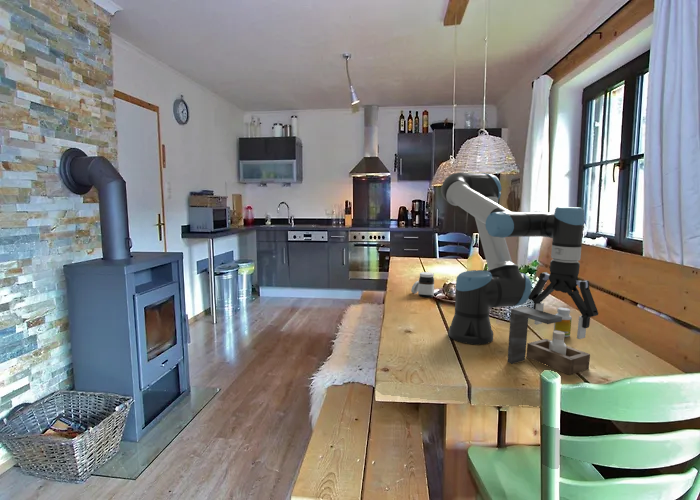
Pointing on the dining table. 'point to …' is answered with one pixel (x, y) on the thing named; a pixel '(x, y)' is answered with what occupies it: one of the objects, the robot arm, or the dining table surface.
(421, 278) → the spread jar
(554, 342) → the pepper shaker
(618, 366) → the dining table surface
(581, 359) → the brown and grey frame
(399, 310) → the dining table surface
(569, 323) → the supplement bottle
